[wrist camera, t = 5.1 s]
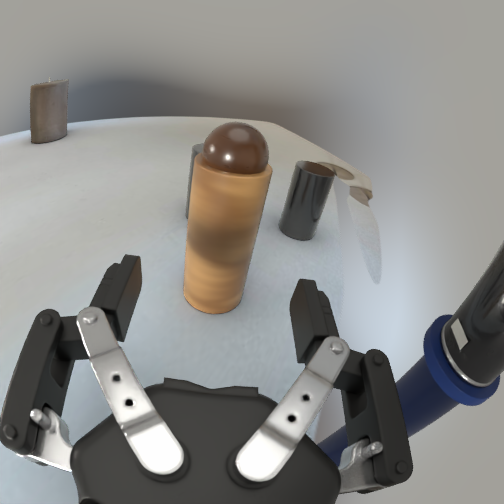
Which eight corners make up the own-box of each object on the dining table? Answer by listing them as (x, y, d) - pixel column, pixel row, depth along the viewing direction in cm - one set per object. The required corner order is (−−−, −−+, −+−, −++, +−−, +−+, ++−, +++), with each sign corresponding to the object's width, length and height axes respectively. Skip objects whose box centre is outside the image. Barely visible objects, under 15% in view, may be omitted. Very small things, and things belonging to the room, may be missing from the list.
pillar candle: (26, 146, 44) (25, 82, 35) (37, 134, 51) (37, 78, 42) (63, 140, 48) (64, 75, 39) (70, 130, 55) (73, 73, 46)
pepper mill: (241, 276, 25) (277, 123, 17) (241, 317, 21) (287, 140, 14) (187, 268, 25) (205, 111, 17) (179, 309, 21) (193, 124, 13)
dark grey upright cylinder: (310, 223, 36) (329, 166, 31) (317, 243, 32) (340, 180, 28) (277, 217, 35) (293, 157, 31) (280, 237, 32) (300, 171, 27)
